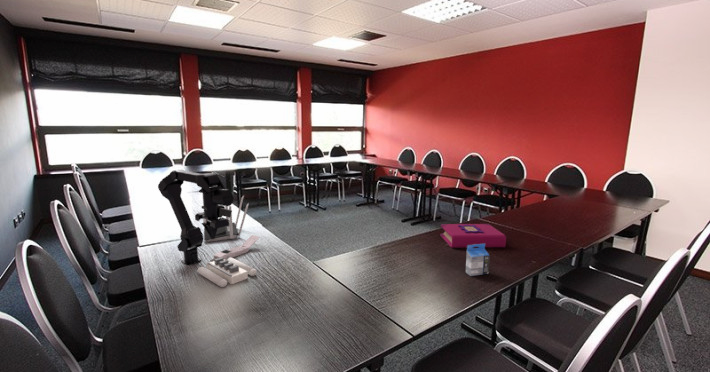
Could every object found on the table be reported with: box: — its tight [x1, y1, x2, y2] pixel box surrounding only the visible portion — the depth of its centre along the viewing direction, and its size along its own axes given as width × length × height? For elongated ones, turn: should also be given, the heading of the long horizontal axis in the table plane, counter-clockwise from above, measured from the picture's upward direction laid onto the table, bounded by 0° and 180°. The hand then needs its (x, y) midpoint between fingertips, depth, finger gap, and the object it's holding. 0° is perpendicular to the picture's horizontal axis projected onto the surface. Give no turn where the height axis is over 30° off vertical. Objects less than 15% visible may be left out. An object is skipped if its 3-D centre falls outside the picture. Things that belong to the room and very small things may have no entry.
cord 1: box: [197, 266, 228, 288], centre depth 133 cm, size 20×3×3 cm, turn 49°
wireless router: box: [203, 195, 249, 243], centre depth 188 cm, size 34×23×20 cm
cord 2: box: [228, 257, 257, 277], centre depth 143 cm, size 20×3×3 cm, turn 49°
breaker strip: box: [206, 257, 249, 285], centre depth 138 cm, size 20×7×5 cm, turn 49°
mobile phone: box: [209, 234, 260, 262], centre depth 160 cm, size 6×6×25 cm
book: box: [439, 223, 507, 249], centre depth 180 cm, size 21×28×8 cm
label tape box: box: [465, 244, 491, 277], centre depth 140 cm, size 9×4×12 cm, turn 105°
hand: (213, 238), depth 143 cm, fingers closed
